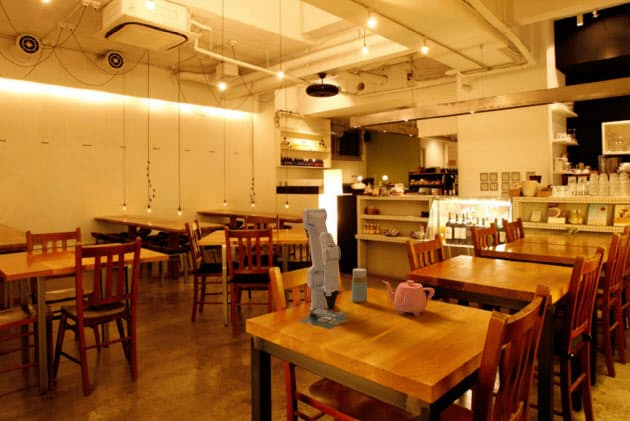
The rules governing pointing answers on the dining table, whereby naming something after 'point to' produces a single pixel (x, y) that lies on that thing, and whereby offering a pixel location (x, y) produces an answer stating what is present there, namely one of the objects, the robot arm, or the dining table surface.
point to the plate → (314, 321)
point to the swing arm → (326, 313)
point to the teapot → (409, 297)
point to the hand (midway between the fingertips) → (331, 309)
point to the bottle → (359, 286)
